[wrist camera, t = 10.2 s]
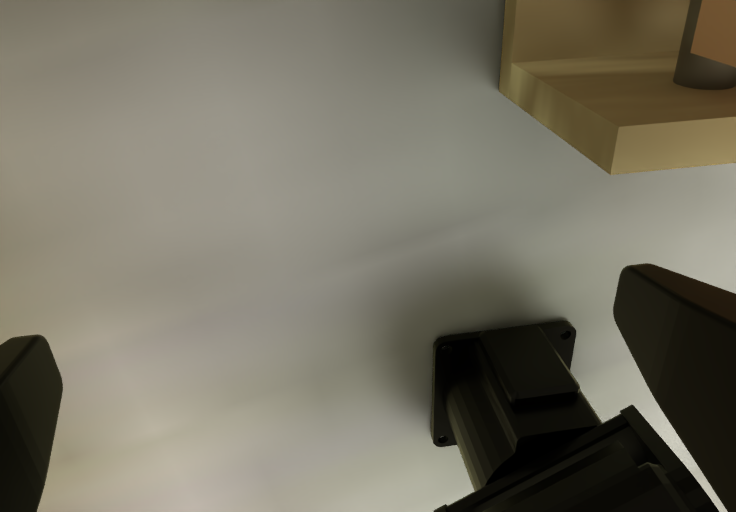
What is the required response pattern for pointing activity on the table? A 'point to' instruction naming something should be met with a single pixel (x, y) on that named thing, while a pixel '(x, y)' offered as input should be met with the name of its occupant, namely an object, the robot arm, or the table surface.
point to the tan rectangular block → (716, 31)
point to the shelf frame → (620, 81)
